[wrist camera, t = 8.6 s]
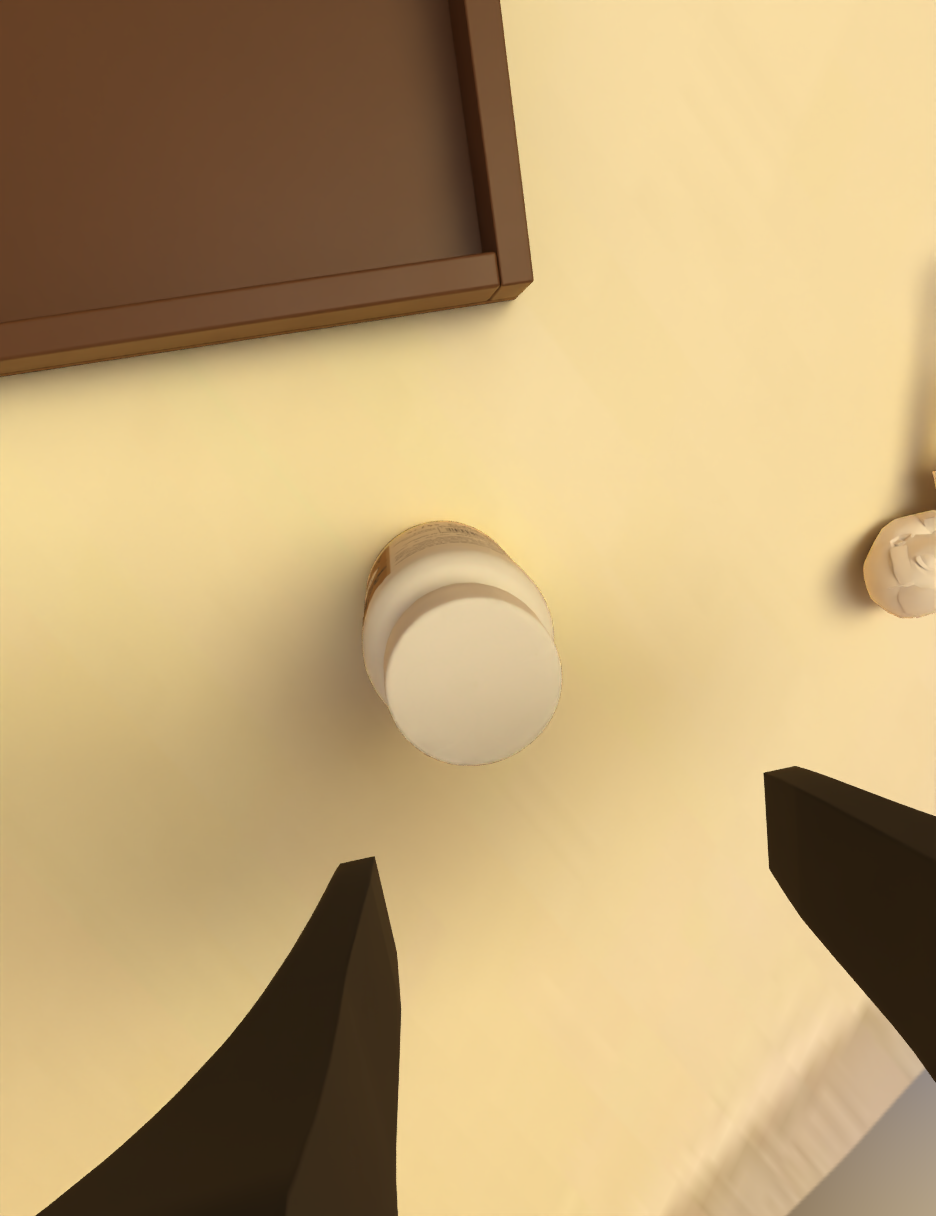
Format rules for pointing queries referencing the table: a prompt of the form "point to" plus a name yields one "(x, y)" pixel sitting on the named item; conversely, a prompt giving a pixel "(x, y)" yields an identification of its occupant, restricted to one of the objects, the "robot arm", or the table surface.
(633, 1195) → the table surface
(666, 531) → the table surface
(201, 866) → the table surface
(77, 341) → the tray
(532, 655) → the pill bottle
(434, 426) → the table surface
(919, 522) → the woman figurine
